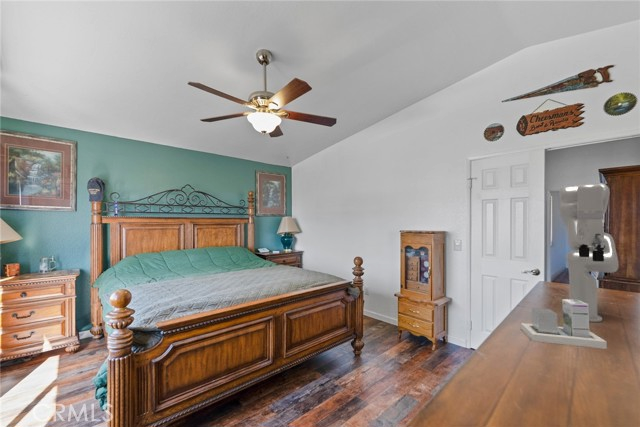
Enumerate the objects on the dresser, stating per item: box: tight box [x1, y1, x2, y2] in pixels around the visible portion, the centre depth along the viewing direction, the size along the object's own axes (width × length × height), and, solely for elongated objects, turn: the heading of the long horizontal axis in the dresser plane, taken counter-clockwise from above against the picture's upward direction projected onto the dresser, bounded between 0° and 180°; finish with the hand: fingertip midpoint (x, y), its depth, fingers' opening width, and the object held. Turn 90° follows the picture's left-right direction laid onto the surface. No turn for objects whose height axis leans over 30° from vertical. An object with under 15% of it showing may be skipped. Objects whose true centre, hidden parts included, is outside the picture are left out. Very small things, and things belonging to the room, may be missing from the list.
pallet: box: [520, 322, 608, 350], centre depth 109 cm, size 12×22×4 cm, turn 72°
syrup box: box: [561, 298, 591, 338], centre depth 107 cm, size 6×6×14 cm
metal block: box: [531, 307, 559, 335], centre depth 110 cm, size 6×6×10 cm
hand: (590, 259), depth 113 cm, fingers open, 9 cm apart
